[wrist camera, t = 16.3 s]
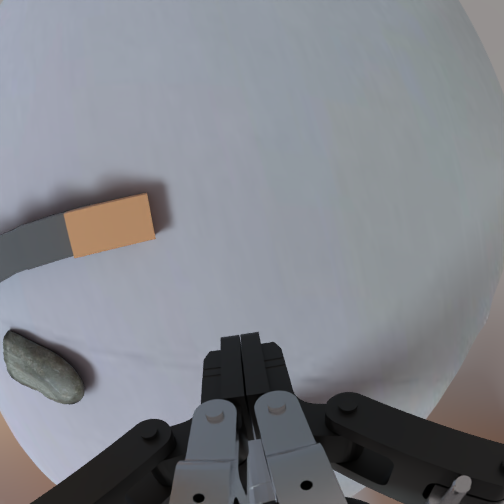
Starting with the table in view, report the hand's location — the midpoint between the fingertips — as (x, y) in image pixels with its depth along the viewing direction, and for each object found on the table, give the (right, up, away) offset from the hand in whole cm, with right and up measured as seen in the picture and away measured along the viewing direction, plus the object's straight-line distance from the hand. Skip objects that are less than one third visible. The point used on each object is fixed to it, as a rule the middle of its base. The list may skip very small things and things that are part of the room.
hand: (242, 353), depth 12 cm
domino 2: (-18, +7, +21) cm, 29 cm away
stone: (-32, -14, +28) cm, 45 cm away
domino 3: (-11, +8, +22) cm, 25 cm away
